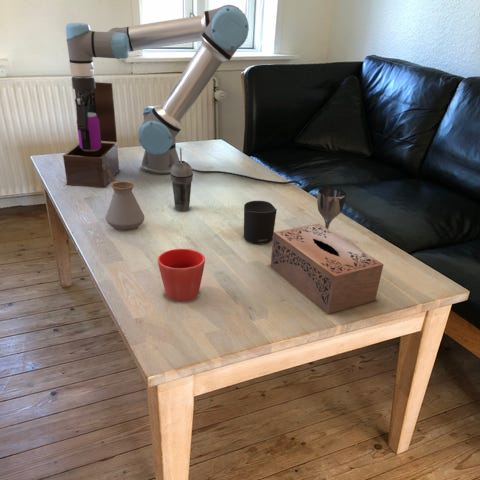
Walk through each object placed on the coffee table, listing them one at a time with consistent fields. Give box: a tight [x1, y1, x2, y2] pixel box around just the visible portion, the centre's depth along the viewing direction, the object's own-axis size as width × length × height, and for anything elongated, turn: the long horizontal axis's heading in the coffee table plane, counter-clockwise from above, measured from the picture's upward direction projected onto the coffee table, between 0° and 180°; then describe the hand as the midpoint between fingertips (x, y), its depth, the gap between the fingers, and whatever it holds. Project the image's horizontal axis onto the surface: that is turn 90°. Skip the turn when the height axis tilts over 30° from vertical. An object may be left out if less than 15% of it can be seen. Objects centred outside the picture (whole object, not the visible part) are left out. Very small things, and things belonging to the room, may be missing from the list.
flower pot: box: [157, 248, 206, 303], centre depth 121 cm, size 11×11×10 cm
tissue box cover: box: [270, 223, 384, 315], centre depth 129 cm, size 26×14×10 cm, turn 29°
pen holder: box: [243, 200, 278, 245], centre depth 150 cm, size 9×9×10 cm
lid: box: [74, 81, 118, 143], centre depth 189 cm, size 20×14×7 cm
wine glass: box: [316, 186, 347, 230], centre depth 149 cm, size 8×8×15 cm
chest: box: [62, 141, 120, 188], centre depth 187 cm, size 19×14×10 cm
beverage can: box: [76, 112, 102, 151], centre depth 181 cm, size 8×8×12 cm
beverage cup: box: [169, 147, 194, 212], centre depth 164 cm, size 7×7×20 cm
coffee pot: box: [102, 163, 145, 232], centre depth 154 cm, size 21×12×15 cm, turn 30°
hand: (90, 145), depth 184 cm, fingers closed on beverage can, 8 cm apart
